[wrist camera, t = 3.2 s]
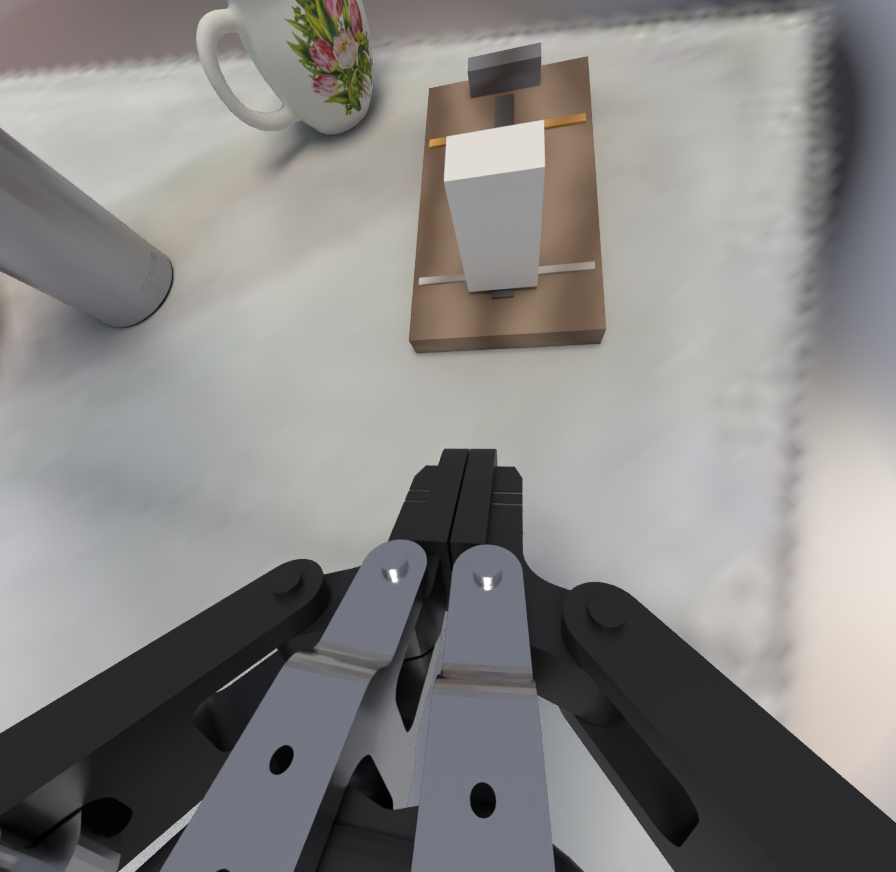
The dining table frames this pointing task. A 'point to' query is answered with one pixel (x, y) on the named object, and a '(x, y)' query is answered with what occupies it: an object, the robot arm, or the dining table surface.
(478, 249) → the slider tab
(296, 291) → the dining table surface
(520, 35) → the dining table surface
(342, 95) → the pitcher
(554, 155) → the board
